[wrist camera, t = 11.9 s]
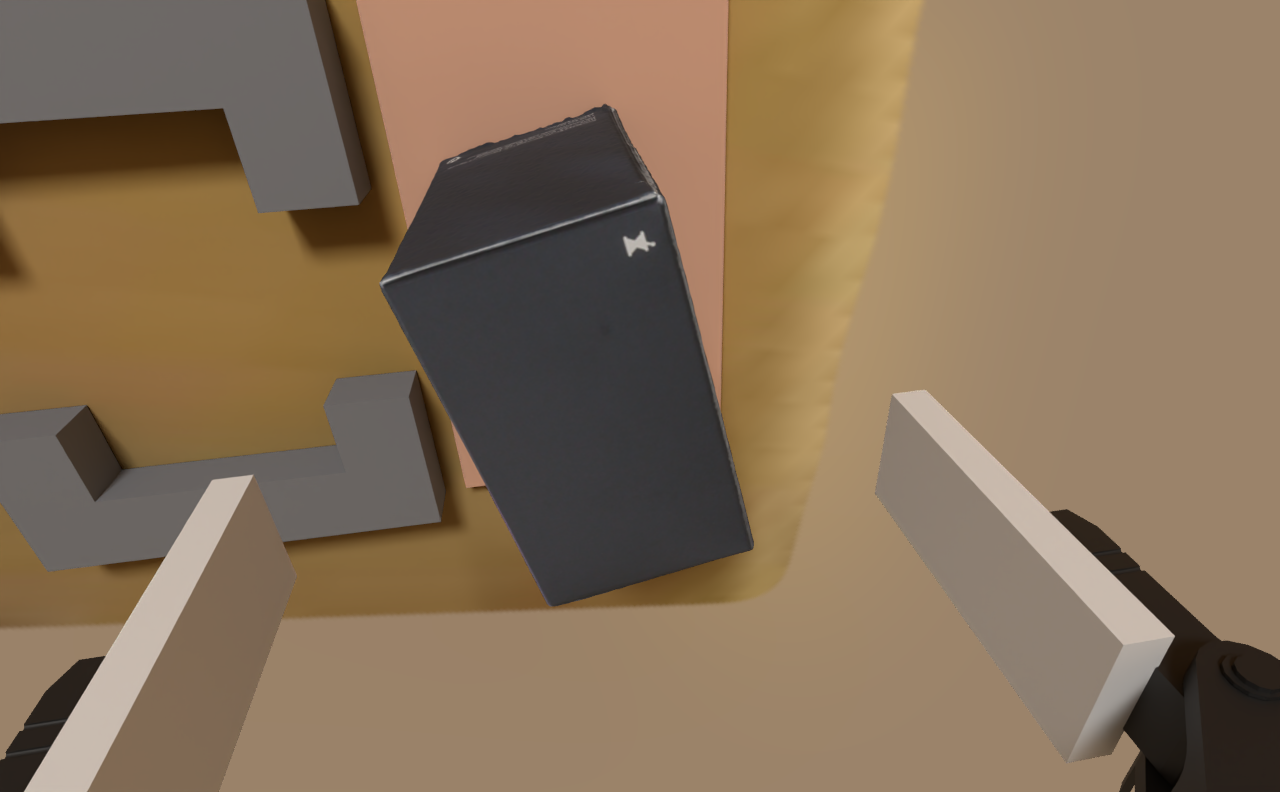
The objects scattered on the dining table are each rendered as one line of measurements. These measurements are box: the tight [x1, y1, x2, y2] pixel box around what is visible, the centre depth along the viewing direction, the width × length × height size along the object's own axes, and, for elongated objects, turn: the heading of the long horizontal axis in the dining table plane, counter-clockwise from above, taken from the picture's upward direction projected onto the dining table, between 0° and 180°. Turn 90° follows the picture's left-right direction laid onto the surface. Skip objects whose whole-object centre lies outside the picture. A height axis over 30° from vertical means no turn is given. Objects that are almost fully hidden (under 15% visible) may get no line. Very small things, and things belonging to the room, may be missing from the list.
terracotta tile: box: [356, 0, 728, 488], centre depth 25 cm, size 11×18×1 cm, turn 3°
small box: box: [380, 104, 754, 606], centre depth 21 cm, size 11×6×10 cm, turn 16°
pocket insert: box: [0, 0, 446, 572], centre depth 23 cm, size 15×19×2 cm
